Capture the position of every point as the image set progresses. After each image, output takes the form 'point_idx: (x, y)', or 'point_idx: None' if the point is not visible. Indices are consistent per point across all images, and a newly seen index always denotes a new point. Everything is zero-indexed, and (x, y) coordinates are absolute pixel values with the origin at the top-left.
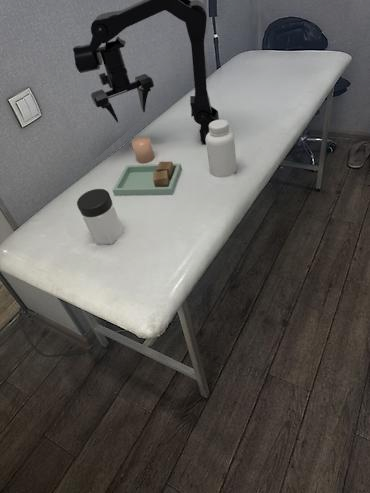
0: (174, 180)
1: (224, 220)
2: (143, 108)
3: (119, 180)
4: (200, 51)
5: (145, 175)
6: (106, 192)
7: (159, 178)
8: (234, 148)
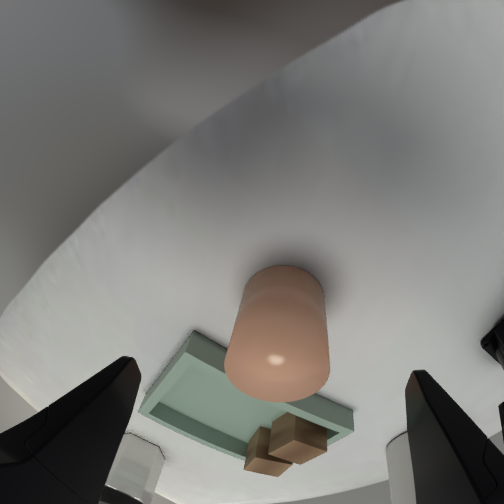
0: None
1: (318, 496)
2: (411, 433)
3: (156, 397)
4: None
5: None
6: None
7: (260, 472)
8: None
